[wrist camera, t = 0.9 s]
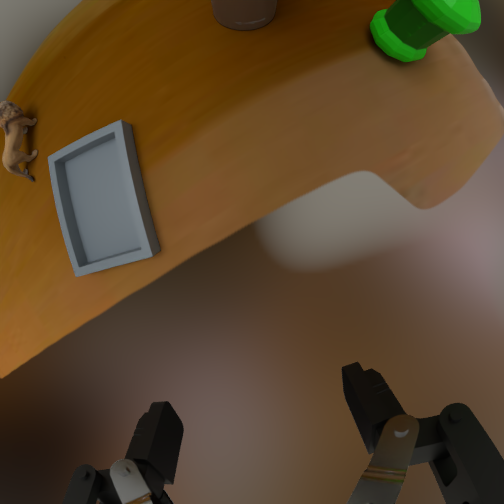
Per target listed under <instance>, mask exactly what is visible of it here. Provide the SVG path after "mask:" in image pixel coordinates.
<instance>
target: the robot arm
mask: <svg viewBox="0 0 504 504" xmlns="http://www.w3.org/2000/svg"><path fill="white" fill-rule="evenodd" d="M277 1H278V0H211V2H212V8H213V13H214V17H215V18H216V20H217V21H218V22H219V23H220V24H222V25H223V26H225V27H228V28H231V29H235V30H252V29H257V28H260V27H263V26H265V25H266V24H268V23H269V22H270V21H271V20H272V19H273V17H274V15H275V10H276V5H277ZM342 380H343V391H344V395H345V399H346V402H347V404H348V406H349V409H350V411H351V413H352V416H353V418H354V420H355V423H356V425H357V427H358V430H359V432H360V434H361V437H362V439H363V442H364V444H365V446H366V449H367V451H368V454H371V453H374V454H373V456H372V458H371V461H370V463H369V465H368V467H367V469H366V470H365V471H364V472H363V474H362V476H361V477H360V479H359V481H358V483H357V486H356V487H355V489H354V491H353V493H352V495H351V497H350V498H349V500H348V502H347V504H395V502H396V500H397V497H398V495H399V493H400V490H401V487H402V485H403V482H404V479H405V476H406V472H407V469H408V466H410V465H415V464H420V463H424V462H428V463H429V465H430V467H431V469H432V471H433V474H434V476H435V478H436V481H437V483H438V485H439V488H440V490H441V492H442V495H443V497H444V500H445V502H446V504H504V460H503V458H502V456H501V455H500V453H499V452H498V450H497V448H496V447H495V445H494V444H493V442H492V441H491V439H490V438H489V436H488V434H487V433H486V431H485V430H484V429H483V427H482V426H481V424H480V423H479V421H478V420H477V418H476V417H475V416H474V414H473V413H472V411H471V410H470V408H469V407H467V406H466V405H465V404H462V403H454V404H450V405H448V406H446V407H445V408H444V409H443V410H442V412H441V413H440V415H437V416H433V417H428V418H421V419H419V418H414V417H413V416H411V415H408V414H406V413H405V411H404V410H403V408H402V407H401V405H400V403H399V402H398V400H397V399H396V397H395V396H394V394H393V392H392V391H391V390H390V388H389V387H388V385H387V383H386V382H385V380H384V379H383V377H382V376H381V374H380V373H378V372H376V371H375V370H373V369H369V370H366V371H363V369H362V367H361V365H360V364H359V363H358V362H355V363H352V364H350V365H346V366H344V367H342ZM183 431H184V428H183V424H182V421H181V420H180V418H179V417H178V415H177V414H176V412H175V410H174V409H173V407H172V406H171V404H170V403H169V402H168V401H165V402H153V403H152V404H151V406H150V409H149V412H147V413H145V414H144V415H143V416H142V417H141V418H140V419H139V421H138V424H137V426H136V429H135V432H134V436H133V437H132V440H131V442H130V445H129V448H128V451H127V453H126V456H125V459H122V460H119V461H117V462H116V463H114V464H113V465H112V467H111V469H106V470H99V471H97V470H95V468H93V467H92V466H91V465H88V464H85V465H81V466H79V467H78V468H77V469H76V470H75V471H74V473H73V476H72V478H71V481H70V484H69V486H68V489H67V492H66V495H65V497H64V500H63V503H62V504H96V501H97V500H99V501H100V503H99V504H174V503H173V502H172V500H171V499H170V497H169V496H168V494H167V493H166V491H165V490H164V489H163V488H164V484H173V483H174V477H175V473H176V467H177V462H178V457H179V452H180V446H181V442H182V437H183Z"/></svg>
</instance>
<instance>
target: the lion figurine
mask: <svg viewBox="0 0 504 504" xmlns="http://www.w3.org/2000/svg"><path fill="white" fill-rule="evenodd" d="M23 116H24V115H23V111H22V110H21V108H20V107H19V106H17V105H16V104H14V103H12V102H9V101H7V100H6V101H2V102H0V127H2V128H3V129H4V131H5V149H4V153H3V159H2V160H3V165H4V167H5V168H6V169H7V170H8V171H9V172H11V173H12V174H15V175H18V176H22V177H26V178H28V179H29V180H31V181H32V182H33V177H32V176H30V175H28V170H27V169H24V171H23V172H22V171H21V170H20V168H19V166H18V164H19V163H21V162H23V161H27V162H30V161H31V160H32V159H33V158H35V157H36V156H37V153H38V151H37V150H34V151H33V152H32V155H27V154H26V153H24V152H22V151H19V148H20V146H21V144H22V139H23V134H25V133H27V127H24V128H22V127H23V126H25V125H30V126H32V125H35V123H36V122H37V119H36V118H34V119H32V120H30V119H28V118H26V117H23Z"/></svg>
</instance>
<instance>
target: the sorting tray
mask: <svg viewBox="0 0 504 504" xmlns="http://www.w3.org/2000/svg"><path fill="white" fill-rule="evenodd" d="M48 163H49V170H50V177H51V183H52V188H53V194H54V199H55V204H56V208H57V213H58V217H59V221H60V225H61V229H62V233H63V237H64V240H65V244H66V247H67V251H68V254H69V257H70V261H71V264H72V267H73V270H74V273H75V276H76V277H78V276H82V275H86V274H89V273H93V272H97V271H100V270H104V269H108V268H111V267H115V266H119V265H122V264H126V263H130V262H134V261H138V260H141V259H145V258H149V257H153V256H154V255H155V254H157V253H158V252H159V251H161V249H160V246H159V242H158V239H157V236H156V232H155V228H154V225H153V221H152V217H151V214H150V210H149V206H148V202H147V198H146V194H145V190H144V185H143V181H142V177H141V172H140V168H139V163H138V158H137V153H136V148H135V143H134V138H133V132H132V127H131V125H130V124H128V123H126V122H124V121H122V120H119V121H117V122H114V123H112V124H110V125H108V126H106V127H103V128H101V129H99V130H97V131H95V132H93V133H91V134H89V135H87V136H85V137H83V138H81V139H79V140H77V141H75V142H73V143H72V144H70V145H68V146H66V147H64V148H62V149H61V150H59V151H57V152H56V153H54V154H52V155H50V156H49V157H48Z"/></svg>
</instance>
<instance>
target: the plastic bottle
mask: <svg viewBox="0 0 504 504" xmlns="http://www.w3.org/2000/svg"><path fill="white" fill-rule="evenodd" d="M480 24H481V13H480V6H479V1H478V0H396V1H395V2H394V3H393V4H392V5H391V6H390V7H389V9H385V10H380V11H377V13H376V14H375V15H374V17H373V19H372V21H371V23H370V31H371V33H372V36H373V38H374V41H375V43H376V44H377V45H378V47H380V48H381V49H382V50H383V51H384V52H385V53H386V54H387V55H389V56H391V57H393V58H396V59H398V60H400V61H402V62H410V61H415V60H420V59H422V58H423V57H424V56H425V53H426V50H427V47H429V46H430V45H432V44H433V43H435V42H437V41H438V40H440V39H441V38H443V37H445V36H446V35H448V34H449V33H451V34H467V33H472V32H474V31H476V30H477V29H478V28H479V26H480Z"/></svg>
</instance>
